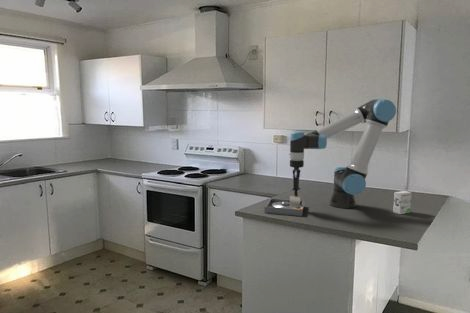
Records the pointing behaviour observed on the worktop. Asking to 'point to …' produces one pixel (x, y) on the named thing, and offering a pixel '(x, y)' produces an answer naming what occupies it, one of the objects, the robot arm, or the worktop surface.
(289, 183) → the worktop surface
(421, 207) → the worktop surface
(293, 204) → the dial
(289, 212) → the grey square tray
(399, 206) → the ink box
